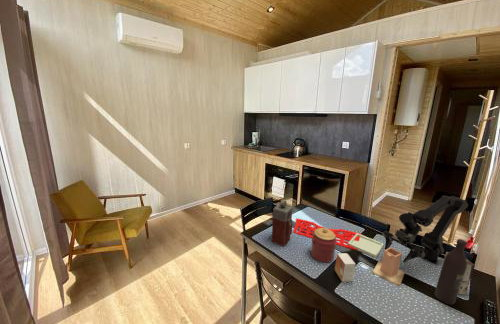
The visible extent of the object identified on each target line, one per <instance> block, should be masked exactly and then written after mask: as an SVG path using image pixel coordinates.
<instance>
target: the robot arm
mask: <svg viewBox="0 0 500 324" xmlns="http://www.w3.org/2000/svg"><path fill="white" fill-rule="evenodd" d="M468 207H469V203H468V201H467V200H465V199H464V198H460V197H457V196H454V195H451V196H447V195H442V196H441V197H439V199H438V200H436V201H434V203H433V204H431V205H429V206H428V207H427V208H425V209H419V210H418V211H415V212H413V213H412V212H410V211H408V212H406V213H402V214H400V215H399V218H398V219H399V222H400V223H401V224H402V225H403V227H404V228H403V229H402V230H398V229H397V230H396V231H395V233H394V234H393V233H392V232H389V231H387V230H385V231H383V232H382V236H383V238H384V239H385V243H384V244H385V245H384V250H386V249H388V248H390V247H391V245H392V244H393V242H395V243H397V244H398V245H401V246H403V247H405V248H407V249H409V252H408V254H407V255H406V256H405V257H404V259H403V260H402V263H403V264H405V263H408V262H409V261H410V260H413V259H420V258H421V259H422V260H425V261H428V262H431V263H433V264H435V265H436V264H437V263H438V258H439V255H440V256H441V255H443V254H444V252H445V248H444V247H443V244H444V240H443V236H444V235H445V233H446V232H447V230H448V229H449V227H450V226H451V224H452V222H453V221H454V219H455V217H456V216H457V215H459V214H461V213H463V212H464V211H465V210H466V209H467V208H468ZM441 212H443V213H442V215H441V216H440V218H439V219H438V221H437V222H436V224H435V225H434V227H433V229H432V231H430V232H424V235H423V236H422V237H421V240H420V241H421V246H422V247H423V248H421V247H419V246H417V245H416V244H415V245H412V244H413V242H414V241H416V238H417V236H418V234H419V233H420V232H423V229H422V227H424V228H426V227H429V226H431V225H432V224H433V223H434V218H435V217H436V216H438V215H439V214H441ZM384 250H383V251H384Z"/></svg>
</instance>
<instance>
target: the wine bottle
mask: <svg viewBox="0 0 500 324" xmlns="http://www.w3.org/2000/svg"><path fill="white" fill-rule="evenodd" d="M466 246H467V241H466V240H465V239H461V238H459V239H457V240H456V246H455V247H454V248H453V249H452V250H451V251H448V252H449V253H448V254H447V255H446V257H445V256H444V258H445V259H444V258H443V262H444V263H442V265H443V266H442V267H441V270H440V272H439V273H440V274H439V276H438V279H437V284H436V288H435V289H434V290H435V291H434V296H435V297H436V299H437V300H438V301H441V302H442V303H444V304H446V305H451V306H452V305H455V304H456V302H457V298H458V292H459V289H460V286H461V283H462V280H463V277H464V274H465V271H466V268H467V260H466V258H467V257H466V255H465V247H466Z"/></svg>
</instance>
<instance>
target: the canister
mask: <svg viewBox="0 0 500 324" xmlns="http://www.w3.org/2000/svg"><path fill="white" fill-rule="evenodd" d="M315 229H316V228H315ZM329 229H330V228H327V227H325V228H319V229H316V230H315V232H312V233H313V235H312V236H313V238H311V248H310V253H311V256H312V257H313V259H314V260H316V261H319V262H321V263H330V262H332V261H333V260H334V259H335V250H336V246H337V245H336V244H335V243H336V242H338V241H337V240H336V239H337V238H336V237H335V234H334V233H333V232H332V231H331V230H329Z"/></svg>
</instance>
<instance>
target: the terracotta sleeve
mask: <svg viewBox="0 0 500 324" xmlns="http://www.w3.org/2000/svg"><path fill="white" fill-rule="evenodd" d="M383 251H384V252H383V256H382V259H381V262H382V264H381V269H380V270H381V271H383V272H384V273H386V274H387V275H389V276H390V277H393V276H394V275H396V274H398V269H399V270H400V265H401V261H402V260H401V259H402V257H403V253H402V252H401V251H398V250H397V249H396V248H395V249H394V248H393V247H391V246H390V247H389V248H388V249H386V250H383Z"/></svg>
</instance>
